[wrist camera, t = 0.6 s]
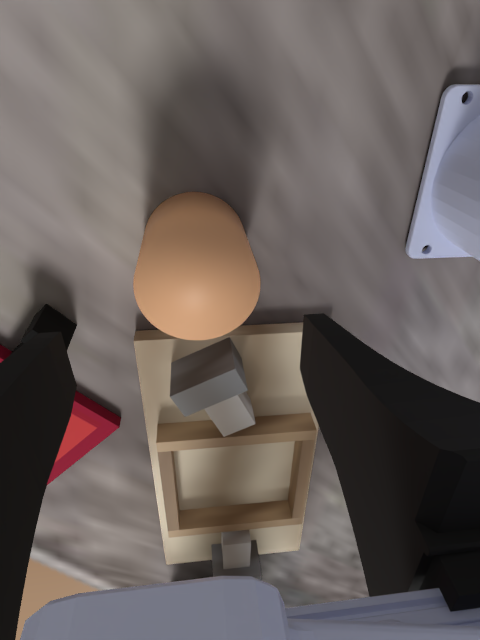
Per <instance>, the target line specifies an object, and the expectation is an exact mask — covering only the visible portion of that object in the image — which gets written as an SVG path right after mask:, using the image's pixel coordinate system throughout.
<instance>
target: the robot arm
mask: <svg viewBox="0 0 480 640" xmlns="http://www.w3.org/2000/svg"><path fill="white" fill-rule="evenodd" d="M465 92H467V93H468V98H467V100H466V101H465V102H464V103H462V96H463V94H464V93H465ZM426 245H428V247H427V249H426V250H425V251H422V249H423V247H424V246H426ZM405 251H406V254H407V255H408V256H410V257H411V258H415V259H417V258H446V257H474V258H476V259H477V260H479V261H480V84H454V85H450V86H449V87H447V88H446V90H445V91H444V92H443V95H442V97H441V101H440V105H439V110H438V114H437V118H436V122H435V126H434V131H433V135H432V139H431V143H430V147H429V152H428V156H427V160H426V164H425V168H424V173H423V177H422V181H421V185H420V189H419V193H418V198H417V202H416V206H415V210H414V214H413V219H412V223H411V227H410V231H409V235H408V240H407V244H406V249H405ZM300 372H301V376H302V380H303V384H304V387H305V391H306V395H307V397H308V400H309V403H310V405H311V407H312V410H313V412H314V415H315V417H316V420H317V422H318V424H319V427H320V429H321V432H322V434H323V437H324V439H325V441H326V444H327V446H328V449H329V451H330V453H331V456H332V459H333V462H334V464H335V467H336V470H337V474H338V477H339V480H340V484H341V487H342V491H343V494H344V497H345V501H346V505H347V508H348V512H349V516H350V519H351V523H352V527H353V530H354V534H355V538H356V542H357V546H358V550H359V554H360V558H361V562H362V566H363V570H364V574H365V579H366V583H367V587H368V592H369V596H370V597H365V598H358V599H350V600H342V601H335V602H327V603H320V604H312V605H304V606H297V607H289V608H285V605H284V601H283V599H282V597H281V595H280V593H279V591H278V589H277V588H276V587H274V586H273V585H271V584H269V583H266V582H264V581H262V580H259V579H257V578H254V577H252V576H216V577H208V578H200V579H192V580H184V581H176V582H167V583H159V584H151V585H143V586H135V587H127V588H119V589H110V590H102V591H95V592H86V593H79V594H75V595H71V596H68V597H64V598H60V599H56V600H53V601H50V602H49V603H48V604H46V605H45V606H43V607H42V608H41V609H39V611H37V612H36V613H34V614H33V615H32V616H31V617H29V618H28V619H27V620H26V621H25V624H24V628H23V631H22V635H21V638H20V640H480V403H479V402H476V401H474V400H471V399H468V398H466V397H463V396H460V395H458V394H456V393H453V392H451V391H449V390H446V389H444V388H442V387H439V386H437V385H435V384H433V383H431V382H429V381H426V380H424V379H423V378H421V377H419V376H417V375H415V374H413V373H411V372H409V371H407V370H405V369H404V368H402V367H400V366H398V365H397V364H395V363H393V362H392V361H390V360H389V359H387V358H385V357H384V356H382V355H381V354H379V353H377V352H376V351H374V350H373V349H372V348H370V347H369V346H367V345H366V344H364V343H363V342H362V341H360V340H359V339H357V338H356V337H355V336H353V335H352V334H351V333H349V332H348V331H347V330H345V329H344V328H343V327H341V326H340V325H339V324H337V323H336V322H335V321H333V320H332V319H331V318H329V317H328V316H326V315H325V314H309V315H304V320H303V332H302V344H301V357H300ZM76 386H77V385H76V382H75V378H74V375H73V372H72V368H71V365H70V361H69V358H68V354H67V351H66V347H65V344H64V340H63V337H62V334H61V332H48V333H39V334H37V335H36V336H34V337H33V338H31V339H30V340H29V341H27V342H26V343H25V344H24V345H22V346H21V347H20V348H18V349H17V350H16V351H15V352H13V353H12V354H11V355H10V356H8V357H7V358H6V359H5V360H3V361H2V362H1V363H0V640H15V637H16V631H17V624H18V618H19V611H20V606H21V600H22V594H23V589H24V584H25V578H26V573H27V567H28V562H29V558H30V553H31V548H32V543H33V538H34V534H35V529H36V525H37V521H38V516H39V512H40V508H41V503H42V499H43V496H44V492H45V489H46V486H47V483H48V480H49V477H50V474H51V471H52V469H53V466H54V463H55V460H56V457H57V454H58V452H59V449H60V446H61V443H62V440H63V437H64V435H65V432H66V429H67V426H68V423H69V420H70V417H71V413H72V408H73V403H74V398H75V392H76Z"/></svg>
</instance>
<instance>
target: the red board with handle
mask: <svg viewBox="0 0 480 640" xmlns="http://www.w3.org/2000/svg"><path fill="white" fill-rule="evenodd" d="M76 326H77V325H76V324H75V323H73V322H72V321H71V320H69V319H68V318H66V317H65V316H63V315H62V314H61V313H59V312H58V311H56V310H55V309H53V308H52V307H50V306H49V305H48V304H46V305H45V306H44V307H43V308H42V309H41V310H40V311H39V312H38V313H37V314H36V315H35V317H34V318H33V320H32V322H31V324H30V325H29V327H28V329H27V331H26V333H25V334H24V336H23V338H22V340H21V342H22V343H21V344H20V345H19V346H18V347H17V348H15V349H14V350H13V351H10V350H9V349H7V348H6V347H4V346H2V345H1V344H0V363H1V362H2V361H3V360H5V359H6V358H7V357H8V356H10V355H11V354H12V353H13V352H15V351H16V350H17V349H18V348H20V347H21V346H22V345H24V344H25V343H26V342H27V341H29V340H30V339H31V338H33V337H34V336H36V335H37V334H39V333H48V332H61V334H62V337H63V340H64V344H65V347H66V351H67V349H68V346H69V344H70V341H71V339H72V336H73V334H74V331H75V329H76ZM120 421H121V418H120V417H119V416H117V415H115V414H114V413H112V412H111V411H109V410H107V409H106V408H104V407H102V406H101V405H99V404H97V403H96V402H94V401H93V400H91V399H89V398H88V397H86V396H84V395H83V394H81V393H79V392H78V391H76V392H75V398H74V403H73V408H72V413H71V417H70V420H69V423H68V426H67V429H66V432H65V435H64V437H63V440H62V443H61V446H60V449H59V452H58V454H57V457H56V460H55V463H54V466H53V469H52V471H51V474H50V477H49V480H48V483H47V485H48V484H49V483H50V482H51V481H53V480H54V479H55V478H56V477H58V476H59V475H60V474H61V473H63V472H64V471H65V470H66V469H68V468H69V467H70V466H71V465H73V464H74V463H75V462H76V461H78V460H79V459H80V458H81V457H83V456H84V455H85V454H86V453H88V452H89V451H90V450H91V449H93V448H94V447H95V446H96V445H98V444H99V443H100V442H101V441H103V440H104V439H105V438H106V437H108V436H109V435H110V434H111V433H113V432H114V431H115V430H116V429H118V428H119V427H120Z"/></svg>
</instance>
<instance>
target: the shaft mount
mask: <svg viewBox="0 0 480 640" xmlns="http://www.w3.org/2000/svg"><path fill="white" fill-rule="evenodd" d="M302 332H303V322H301V323H281V324H261V325H241V326H238V327H237V328H236V329H234V330H233V331H231V332H229V333H227V334H225V335H223V336H220V337H217V338H213V339H208V340H185V339H180V338H177V337H174V336H171V335H168V334H166V333H164V332H162V331H161V330H142V331H135V336H134V347H135V354H136V360H137V367H138V374H139V381H140V388H141V395H142V401H143V408H144V415H145V422H146V429H147V436H148V443H149V449H150V456H151V463H152V470H153V477H154V484H155V490H156V497H157V504H158V511H159V518H160V525H161V531H162V538H163V545H164V552H165V559H166V565H168V564H178V563H187V562H196V561H205V560H212V567H213V577H216V576H252V577H254V578H257V579H259V580H262V574H261V567H260V561H259V554H268V553H278V552H287V551H296V550H299V547H300V541H301V534H302V528H303V522H304V516H305V509H306V503H307V497H308V491H309V484H310V478H311V472H312V466H313V459H314V453H315V447H316V441H317V434H318V428H319V424H318V422H317V420H316V417H315V415H314V412H313V410H312V407H311V405H310V403H309V400H308V397H307V395H306V391H305V387H304V384H303V380H302V376H301V372H300V357H301V344H302Z"/></svg>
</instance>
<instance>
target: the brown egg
mask: <svg viewBox="0 0 480 640" xmlns="http://www.w3.org/2000/svg"><path fill="white" fill-rule="evenodd" d="M133 285H134V294H135V298H136V301H137V304H138V306H139V308H140V310H141V312H142V313H143V314H144V316H145V317H146V318H147V319H148V321H149V322H150V323H151V324H153V325H154V326H155V327H156V328H158V329H159V330H161V331H162V332H164V333H166V334H168V335H171V336H174V337H177V338H180V339H185V340H208V339H213V338H217V337H220V336H223V335H225V334H227V333H229V332H231V331H233V330H234V329H236V328H237V327H238V326H240V325H241V324H242V323H243V322H244V321H245V320H246V319H247V318H248V317H249V315H250V314H251V313H252V311H253V309H254V308H255V306H256V303H257V301H258V297H259V294H260V274H259V270H258V267H257V264H256V261H255V258H254V256H253V253H252V250H251V247H250V244H249V242H248V239H247V236H246V233H245V231H244V228H243V225H242V223H241V220H240V218H239V217H238V215H237V214H236V212H235V211H234V210H233V209H232V208H231V206H229V205H228V204H227V203H226V202H224V201H223V200H221V199H220V198H218V197H216V196H213V195H210V194H207V193H202V192H186V193H181V194H178V195H175V196H172V197H170V198H168V199H167V200H165V201H164V202H162V203H161V204H160V205H159V206H158V207H157V208H156V209H155V210H154V211H153V213H152V214H151V216H150V218H149V220H148V222H147V224H146V228H145V232H144V236H143V241H142V245H141V249H140V253H139V257H138V262H137V266H136V270H135V274H134V283H133Z"/></svg>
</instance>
